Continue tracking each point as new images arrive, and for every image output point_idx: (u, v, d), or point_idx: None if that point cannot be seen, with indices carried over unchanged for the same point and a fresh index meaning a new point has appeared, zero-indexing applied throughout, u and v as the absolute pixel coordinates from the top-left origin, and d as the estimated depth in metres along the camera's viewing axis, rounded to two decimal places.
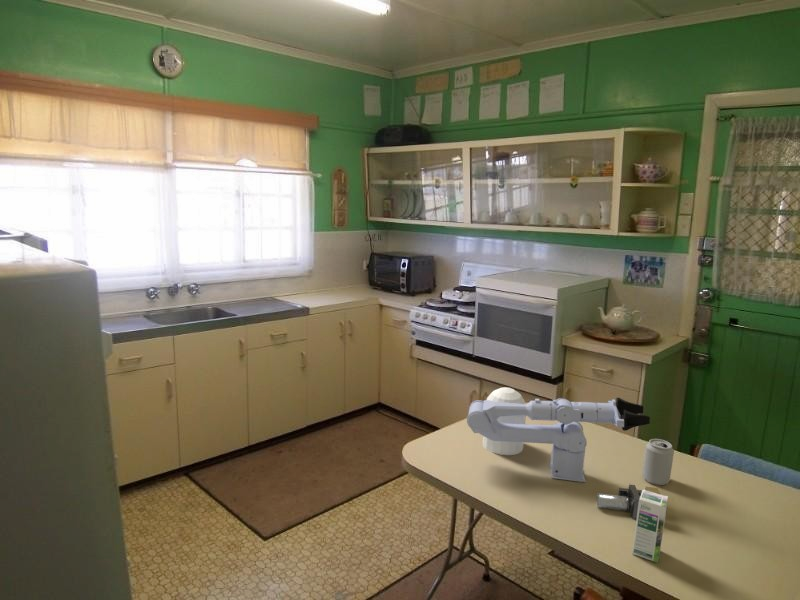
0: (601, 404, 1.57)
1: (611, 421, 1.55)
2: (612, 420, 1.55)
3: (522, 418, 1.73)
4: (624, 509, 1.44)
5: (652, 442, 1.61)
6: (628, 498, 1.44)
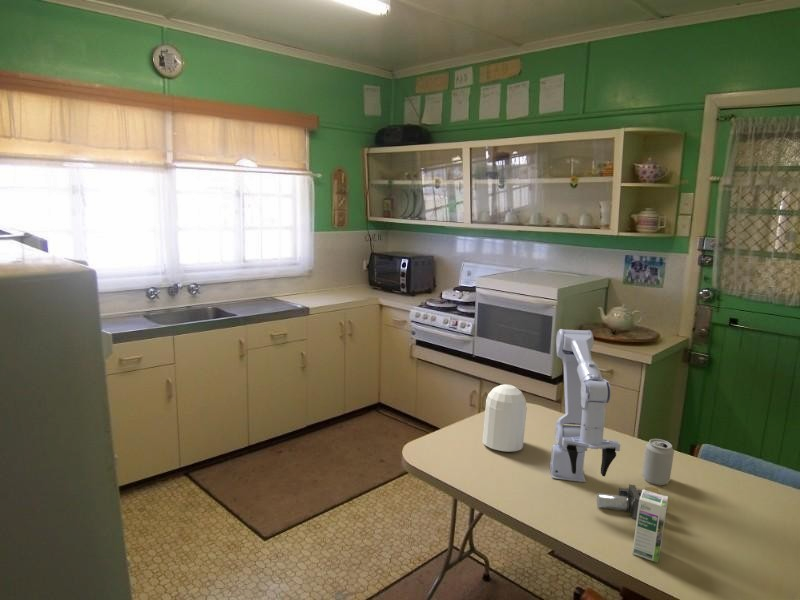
0: (592, 433, 1.41)
1: None
2: (580, 437, 1.45)
3: (522, 414, 1.74)
4: (624, 509, 1.44)
5: (652, 442, 1.61)
6: (628, 498, 1.44)
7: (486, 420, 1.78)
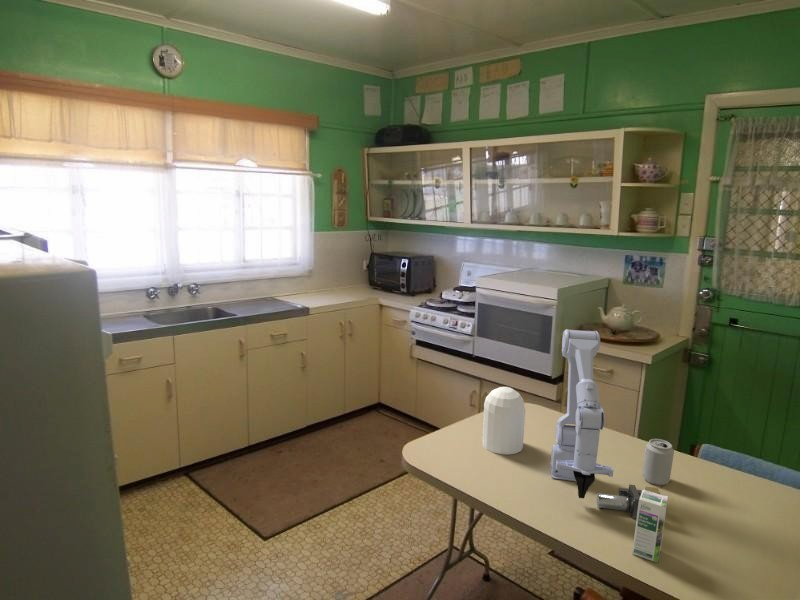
0: (585, 459, 1.42)
1: None
2: None
3: (521, 417, 1.73)
4: (624, 509, 1.44)
5: (652, 442, 1.61)
6: (628, 498, 1.44)
7: (485, 424, 1.77)
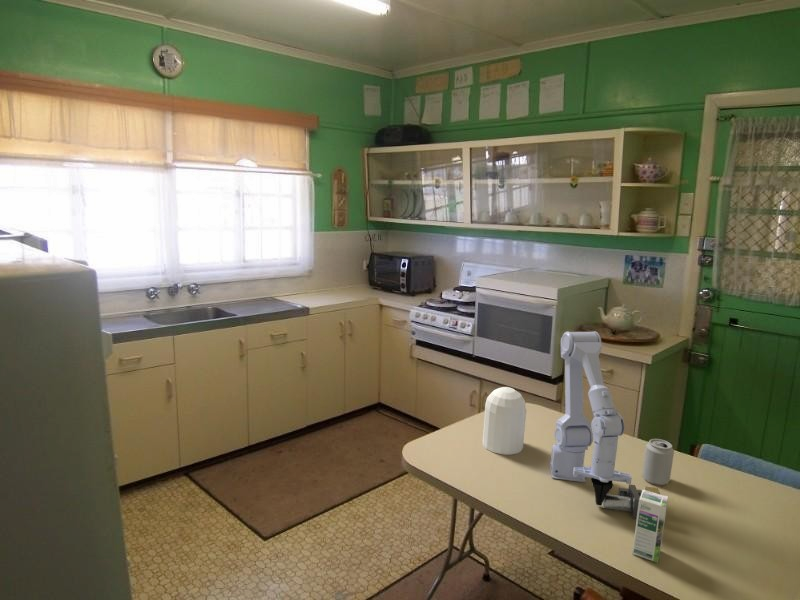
0: (603, 466, 1.41)
1: None
2: None
3: (522, 417, 1.74)
4: (630, 510, 1.44)
5: (652, 442, 1.61)
6: None
7: (486, 424, 1.77)
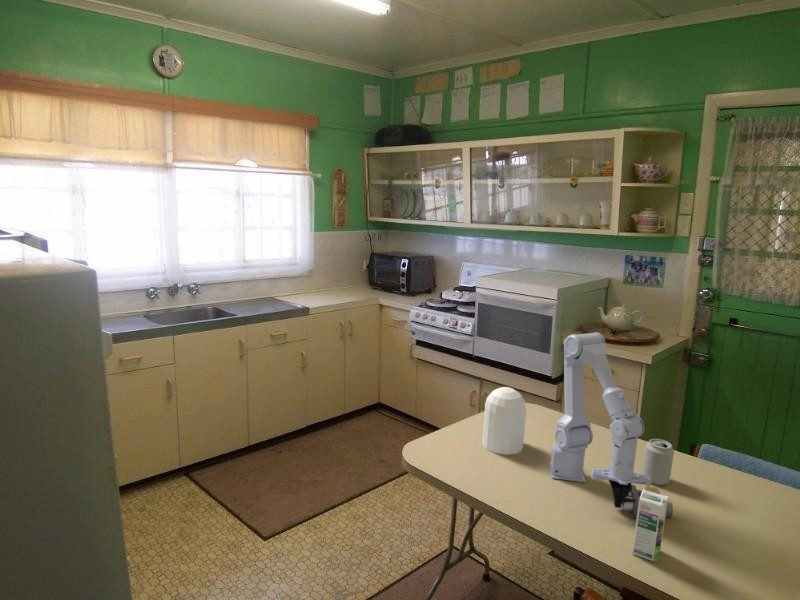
0: (622, 468, 1.41)
1: None
2: (610, 470, 1.45)
3: (522, 417, 1.74)
4: None
5: (652, 442, 1.61)
6: None
7: (486, 424, 1.77)
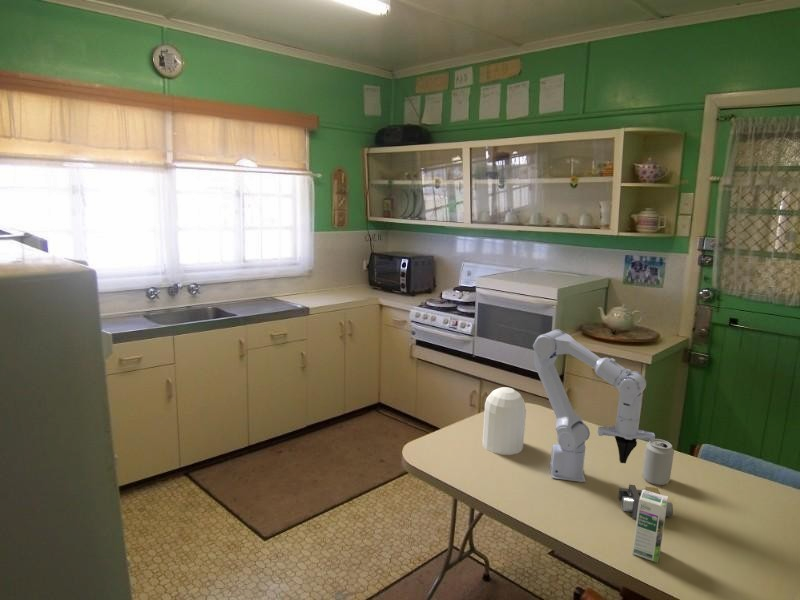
0: (627, 424, 1.47)
1: None
2: (615, 427, 1.51)
3: (522, 417, 1.73)
4: None
5: (652, 442, 1.61)
6: None
7: (486, 424, 1.77)
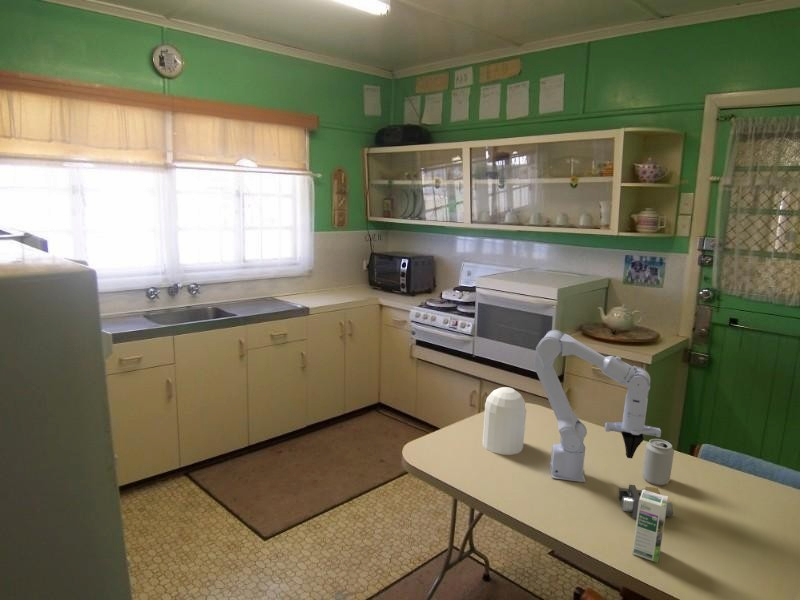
0: (634, 420, 1.49)
1: None
2: None
3: (522, 417, 1.74)
4: None
5: (652, 442, 1.61)
6: None
7: (486, 424, 1.77)
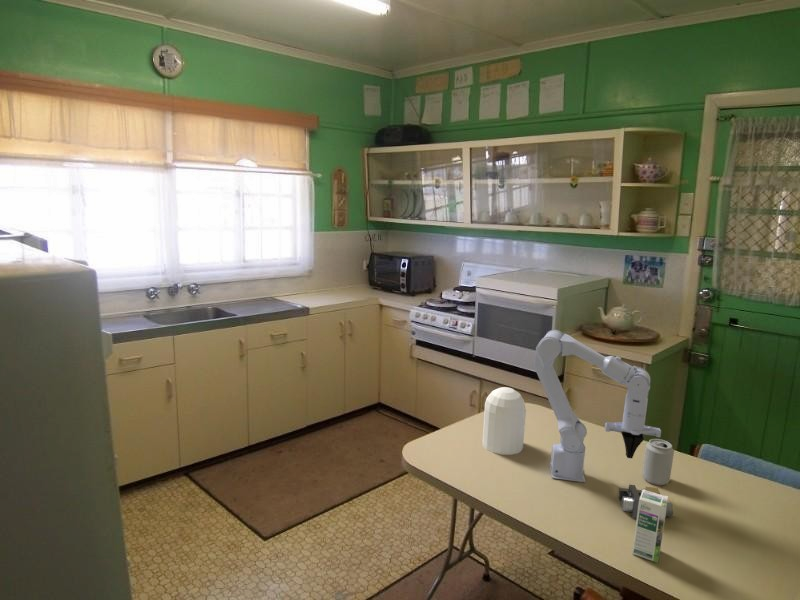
0: (634, 420, 1.49)
1: None
2: None
3: (522, 417, 1.74)
4: None
5: (652, 442, 1.61)
6: None
7: (486, 424, 1.77)
